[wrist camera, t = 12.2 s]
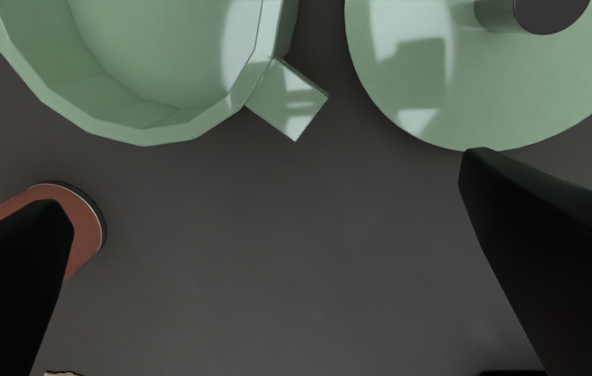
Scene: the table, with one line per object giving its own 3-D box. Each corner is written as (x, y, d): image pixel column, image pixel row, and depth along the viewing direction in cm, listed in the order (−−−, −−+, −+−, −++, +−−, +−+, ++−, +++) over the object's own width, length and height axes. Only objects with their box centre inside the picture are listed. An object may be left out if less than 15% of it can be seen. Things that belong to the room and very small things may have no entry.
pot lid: (499, -284, 14) (584, -458, 9) (744, -43, 16) (931, -73, 11) (289, 40, 19) (267, 47, 14) (490, 194, 21) (535, 248, 16)
